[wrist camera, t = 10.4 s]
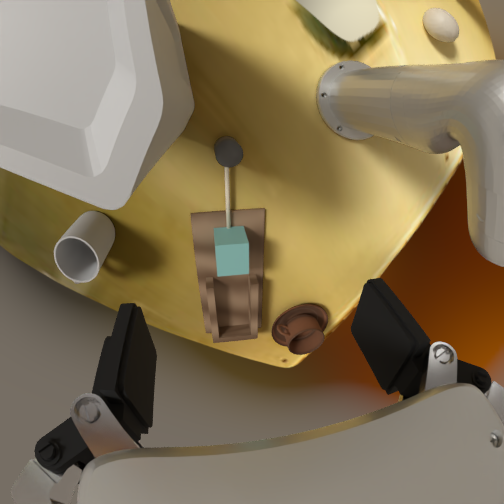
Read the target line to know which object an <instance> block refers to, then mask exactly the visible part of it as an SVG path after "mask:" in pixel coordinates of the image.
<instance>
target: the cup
mask: <svg viewBox="0 0 504 504" xmlns="http://www.w3.org/2000/svg"><path fill="white" fill-rule="evenodd" d="M114 240H115V228H114V226H113V223H112V222H111V220H110V219H109V218H108V217H107V216H106V215H104V214H102V213H101V212H97V211H88V212H85V213H84V214H82V215H81V216H80V217H79V218H78V219H77V220H76V221H75V222H74V224H73V225H72V226H71V227H70V228H69V229H68V230H67V232H66V233H65V234H64V235H63V236H62V237H61V239H60V240H59V241H58V242H57V244H56V246H55V249H54V258H55V262H56V264H57V266H58V268H59V270H60V271H61V272H62V273H63V274H64V275H65V276H66V277H67V278H69V279H71V280H73V281H74V282H75V283H76V284H77V283H80V282H89V281H91V280H92V279H94V278H95V277H96V275H97V274H98V272H99V270H100V268H101V266H102V264H103V262H104V260H105V258H106V256H107V254H108V252H109V250H110V249H111V247H112V245H113V242H114Z"/></svg>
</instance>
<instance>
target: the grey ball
mask: <svg viewBox="0 0 504 504" xmlns="http://www.w3.org/2000/svg"><path fill="white" fill-rule="evenodd" d="M423 24H424V27H425V29H426V30H427V32H428V33H429V34H430V35H431V36H432V37H433V38H435V39H437V40H439V41H442V42H454V41H455V40H456V38H458V35H459V27H458V24H457V22H456V20H455V19H454V17H453V16H452V15H451V14H450V13H448V12H447V11H445V10H443V9H440V8H431V9H428V10H427V11H426V12H425V13H424V15H423Z"/></svg>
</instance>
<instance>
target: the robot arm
mask: <svg viewBox="0 0 504 504" xmlns="http://www.w3.org/2000/svg"><path fill="white" fill-rule="evenodd" d="M339 66H340V68H339ZM321 94H323V96H322V97H321ZM316 99H317V106H318V109H319V112H320V114H321V116H322V118H323V120H324V121H325V123H326V124H327V126H328V127H329V128H331V129H332V130H333V131H334V132H335V133H337V134H338V135H340V136H343V137H345V138H349V139H353V140H363V139H367V138H370V137H372V136H374V135H375V136H378V137H382V138H385V139H388V140H392V141H395V142H398V143H401V144H404V145H407V146H410V147H412V148H415V149H418V150H421V151H424V152H427V153H432V154H441V153H446V152H449V151H451V150H453V149H455V148H456V147H458V146H459V145H461V148H462V152H463V158H464V165H465V171H466V184H467V209H468V227H469V233H470V237H471V240H472V243H473V245H474V246H475V248H476V249H477V251H478V252H479V253H480V254H481V255H482V256H483V257H484V258H486V259H487V260H489V261H490V262H492V263H495V264H497V265H500V266H503V267H504V60H485V61H475V62H467V63H457V64H441V65H404V66H387V67H375V68H371V67H370V66H368V65H366V64H364V63H361V62H358V61H343V62H339V63H336V64H334V65H332V66H331V67H329V68H328V69H327V70H326V71H325V72H324V73H323V75H322V76H321V78H320V80H319V83H318V86H317V93H316ZM337 127H338V129H337ZM351 332H352V334H353V336H354V338H355V340H356V342H357V343H358V345H359V347H360V349H361V351H362V352H363V354H364V356H365V358H366V360H367V362H368V364H369V365H370V367H371V369H372V371H373V373H374V375H375V376H376V378H377V380H378V382H379V384H380V386H381V387H382V389H384V390H386V392H387V394H388V395H389V394H391V393H394V392H396V391H399V392H400V397H399V401H398V403H395V404H393V405H390V406H388V407H385V408H383V409H380V410H378V411H374V412H372V413H369V414H366V415H363V416H360V417H357V418H354V419H350V420H348V421H344V422H341V423H337V424H334V425H330V426H326V427H323V428H319V429H315V430H310V431H306V432H302V433H298V434H293V435H288V436H282V437H277V438H271V439H265V440H259V441H252V442H244V443H235V444H225V445H213V446H198V447H164V448H144V447H143V446H142V444H141V443H140V442H139V440H140V439H141V433H142V434H143V433H144V434H148V427H152V423H153V401H154V385H155V371H156V360H157V355H156V349H155V347H154V344H153V341H152V339H151V336H150V333H149V330H148V327H147V324H146V321H145V319H144V316H143V312H142V309H141V307H137V306H136V304H135V303H126V304H121V305H120V308H119V311H118V315H117V318H116V322H115V325H114V329H113V332H112V336H107V338H106V339H105V341H104V345H103V349H102V352H101V356H100V360H99V364H98V368H97V372H96V377H95V381H94V386H93V390H92V394H91V393H87V394H83V395H80V396H79V397H77V398H76V399H75V400H74V402H73V403H72V406H71V409H70V414H71V417H70V418H69V419H67V420H66V421H64V422H63V423H62V424H60V425H59V426H57V427H56V428H55V429H53V430H52V431H51V432H49V433H48V434H46V435H45V436H43V437H42V438H41V439H40V440H39V441H38V442H37V444H36V447H35V457H36V458H35V459H34V460H32V459H30V461H29V462H28V464H27V465H26V467H25V468H24V469H23V471H22V472H21V474H20V475H19V477H18V478H17V480H16V481H15V483H14V484H13V486H12V489H11V495H12V499H13V501H14V502H15V504H71V503H70V501H71V498H72V496H73V494H74V493H75V492H74V491H73V490H74V488H75V487H76V485H77V484H79V488H78V497H77V504H504V388H503V387H502V386H500V385H499V384H497V383H496V382H494V381H493V382H492V383H491V378H490V376H489V374H488V372H487V371H486V370H484V369H483V368H481V367H478V366H475V365H472V364H469V363H466V362H463V361H461V360H458V359H457V355H456V352H455V350H454V349H453V348H452V347H451V346H450V345H449V344H447V343H445V342H436V343H434V344H432V346H431V345H430V344H429V342H430V339H429V338H428V336H427V335H426V334H425V332H424V331H423V330H422V328H421V327H420V326H419V324H418V323H417V322H416V320H415V319H414V318H413V317H412V315H411V314H410V313H409V311H408V310H407V309H406V308H405V306H404V305H403V304H402V303H401V301H400V300H399V299H398V298H397V296H396V295H395V294H394V293H393V291H392V290H391V289H390V288H389V287H388V285H387V284H386V283H385V282H384V281H383V280H382V279H381V278H376V279H370V280H368V281H367V283H366V284H365V285H364V287H363V291H362V294H361V297H360V301H359V304H358V307H357V311H356V314H355V317H354V320H353V323H352V326H351Z"/></svg>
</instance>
